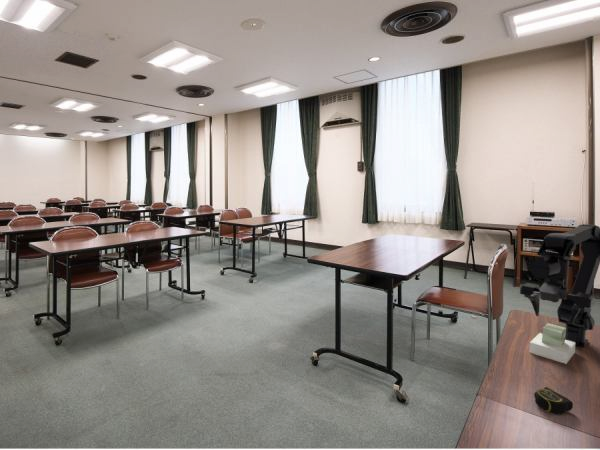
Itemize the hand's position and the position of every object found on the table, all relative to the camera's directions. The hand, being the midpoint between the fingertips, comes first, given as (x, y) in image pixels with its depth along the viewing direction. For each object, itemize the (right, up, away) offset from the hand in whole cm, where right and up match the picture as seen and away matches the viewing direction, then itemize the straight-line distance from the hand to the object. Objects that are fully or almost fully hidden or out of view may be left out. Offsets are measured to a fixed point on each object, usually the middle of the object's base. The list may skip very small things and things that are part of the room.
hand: (553, 319), depth 113 cm
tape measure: (-18, -16, -24) cm, 34 cm away
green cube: (+1, -8, +1) cm, 8 cm away
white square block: (+1, -12, +2) cm, 12 cm away
